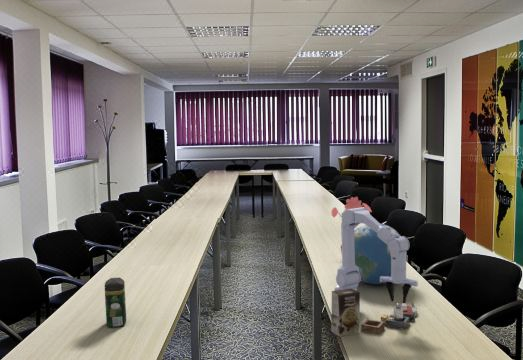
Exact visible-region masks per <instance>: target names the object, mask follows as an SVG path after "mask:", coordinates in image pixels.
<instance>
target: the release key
mask: <svg viewBox="0 0 523 360" xmlns="http://www.w3.org/2000/svg"><path fill="white" fill-rule="evenodd" d="M387 318H388V319H391V320H393V318H391V317H389V314H387V313H386V314H384V313H383V314H382V315H381V316H380V321H383V322H384V325H386V319H387Z"/></svg>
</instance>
